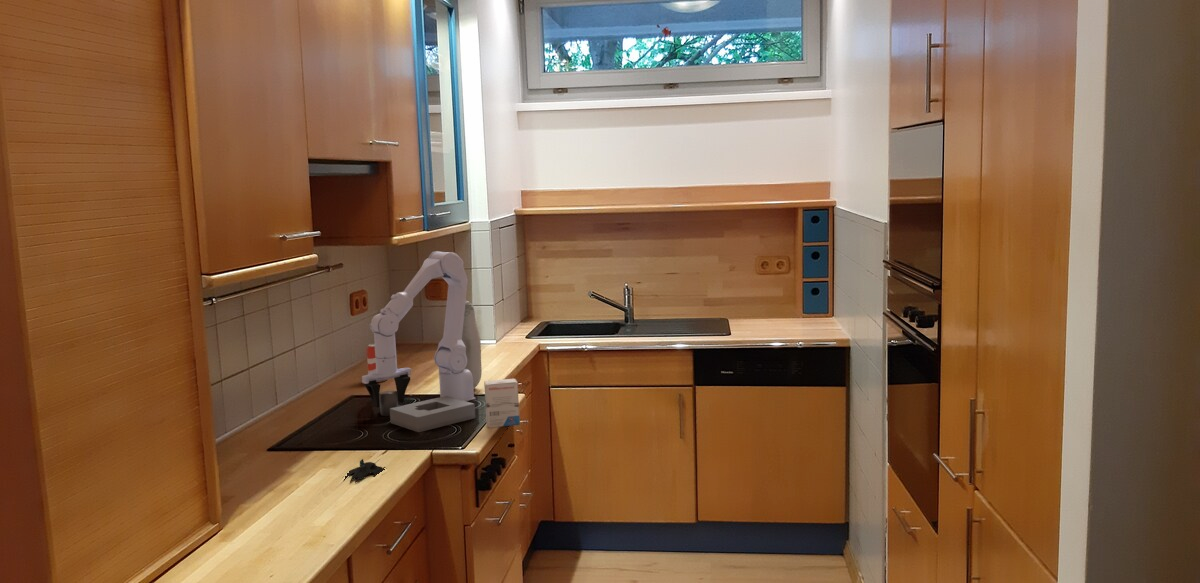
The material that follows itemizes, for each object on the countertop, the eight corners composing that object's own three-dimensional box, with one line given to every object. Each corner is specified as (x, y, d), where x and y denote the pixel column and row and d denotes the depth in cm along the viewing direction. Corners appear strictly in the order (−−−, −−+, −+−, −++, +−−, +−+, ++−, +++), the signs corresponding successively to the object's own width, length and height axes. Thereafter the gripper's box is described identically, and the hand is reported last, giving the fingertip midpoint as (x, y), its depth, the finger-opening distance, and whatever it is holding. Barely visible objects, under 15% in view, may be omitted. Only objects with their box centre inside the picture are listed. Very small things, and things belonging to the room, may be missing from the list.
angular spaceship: (397, 469, 210) (396, 456, 210) (373, 492, 196) (372, 479, 195) (350, 468, 212) (350, 455, 211) (323, 491, 197) (322, 478, 197)
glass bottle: (443, 389, 285) (438, 300, 281) (472, 384, 291) (467, 297, 287) (459, 395, 277) (454, 303, 273) (488, 389, 283) (484, 299, 280)
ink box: (518, 420, 246) (516, 377, 244) (520, 425, 241) (518, 381, 240) (485, 423, 244) (483, 380, 243) (487, 428, 239) (485, 384, 238)
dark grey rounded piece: (402, 413, 258) (400, 392, 257) (386, 417, 254) (384, 395, 254) (390, 409, 262) (388, 389, 262) (374, 413, 259) (373, 392, 258)
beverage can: (365, 380, 302) (363, 344, 300) (383, 377, 305) (381, 342, 304) (373, 383, 297) (370, 347, 295) (391, 380, 301) (389, 344, 299)
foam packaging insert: (446, 409, 260) (445, 395, 260) (475, 418, 250) (474, 403, 249) (390, 422, 248) (389, 408, 247) (418, 432, 238) (417, 417, 237)
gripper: (401, 351, 264) (403, 397, 265) (355, 359, 254) (358, 406, 255) (414, 354, 258) (416, 401, 260) (368, 362, 249) (371, 411, 250)
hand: (388, 404), depth 257 cm, fingers open, 7 cm apart
